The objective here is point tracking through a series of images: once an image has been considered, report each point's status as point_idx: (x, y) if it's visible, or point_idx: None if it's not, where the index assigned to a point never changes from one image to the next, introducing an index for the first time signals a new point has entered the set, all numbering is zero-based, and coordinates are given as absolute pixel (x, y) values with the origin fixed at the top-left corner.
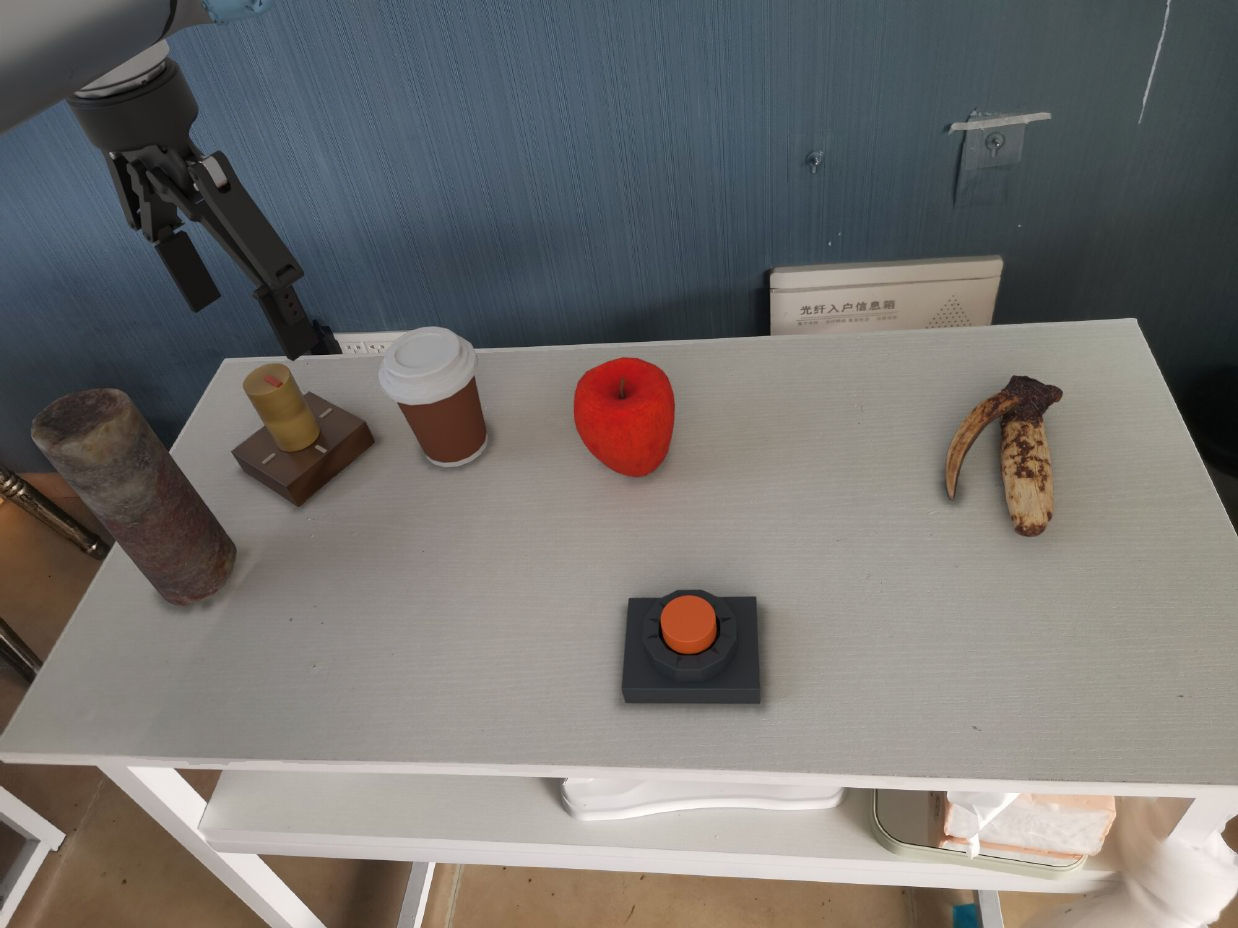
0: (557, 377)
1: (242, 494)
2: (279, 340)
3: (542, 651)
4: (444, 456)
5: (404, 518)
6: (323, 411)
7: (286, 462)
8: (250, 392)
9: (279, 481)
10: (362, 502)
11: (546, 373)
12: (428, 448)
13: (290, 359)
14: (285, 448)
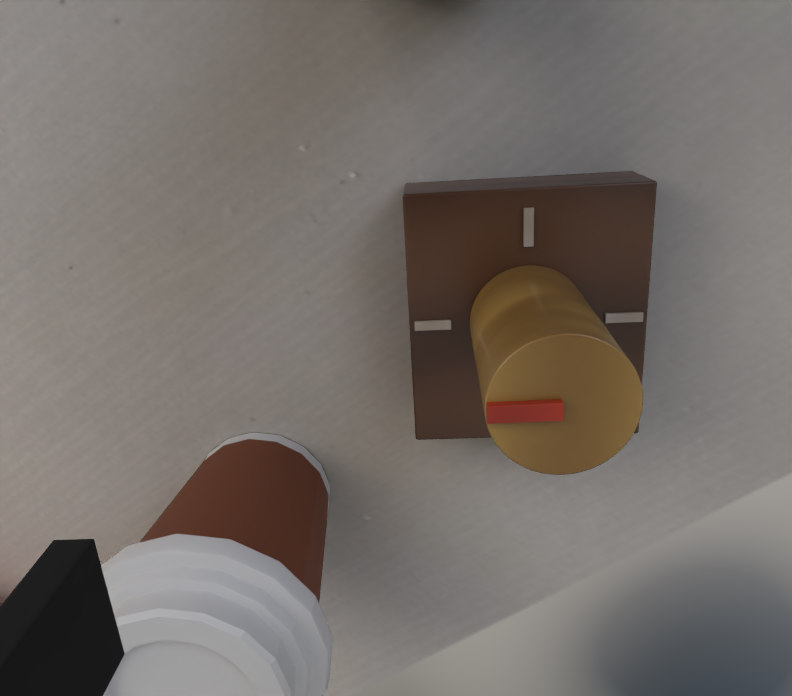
0: None
1: (571, 122)
2: (20, 617)
3: None
4: (210, 459)
5: (178, 302)
6: None
7: (476, 246)
8: (556, 341)
9: (433, 194)
10: (292, 279)
11: None
12: (231, 458)
13: (69, 542)
14: (506, 274)
